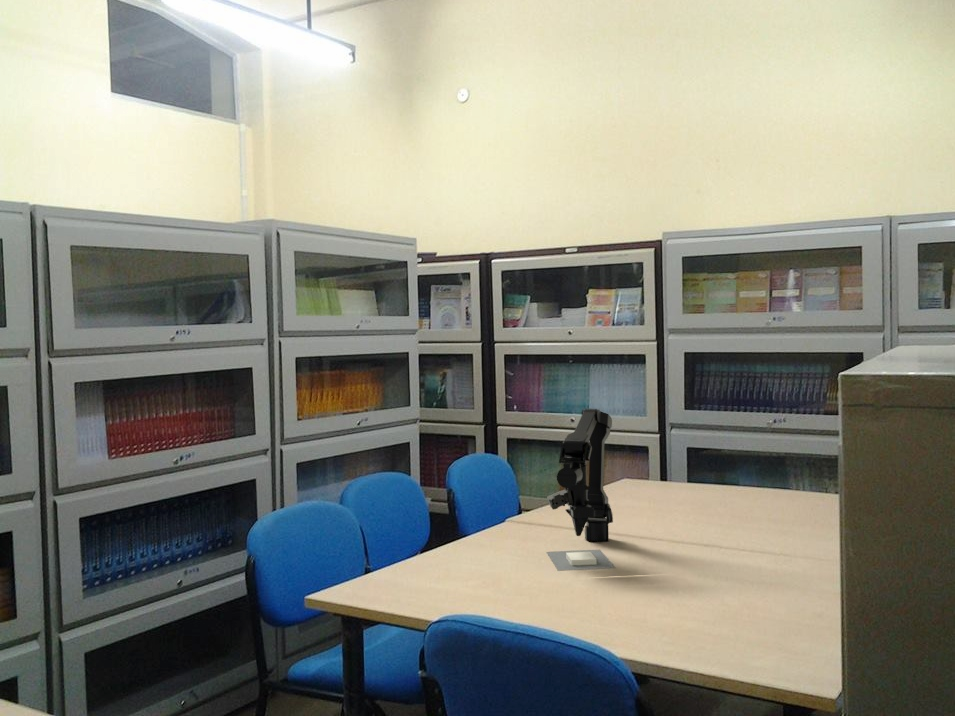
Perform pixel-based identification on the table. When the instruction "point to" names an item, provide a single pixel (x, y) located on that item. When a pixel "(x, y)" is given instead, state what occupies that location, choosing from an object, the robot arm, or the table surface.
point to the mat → (563, 564)
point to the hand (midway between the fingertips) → (578, 535)
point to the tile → (581, 558)
